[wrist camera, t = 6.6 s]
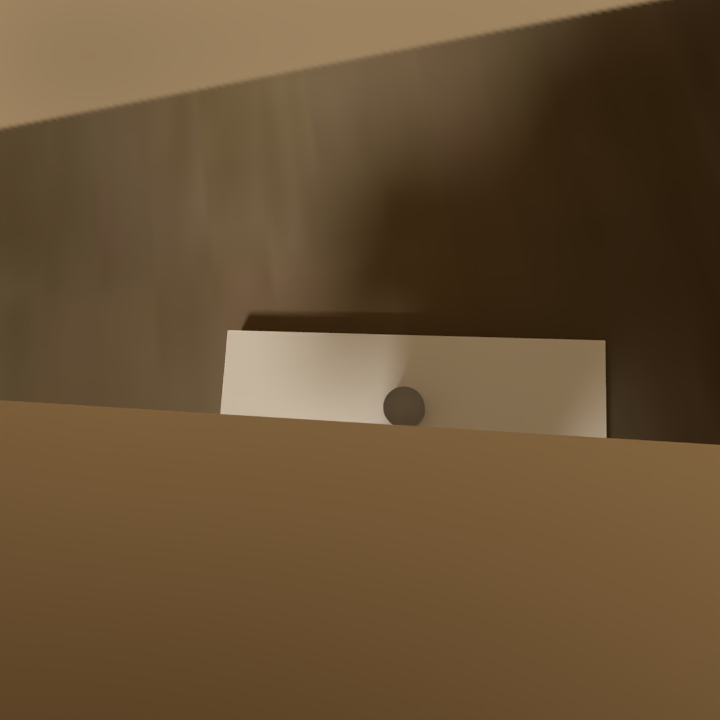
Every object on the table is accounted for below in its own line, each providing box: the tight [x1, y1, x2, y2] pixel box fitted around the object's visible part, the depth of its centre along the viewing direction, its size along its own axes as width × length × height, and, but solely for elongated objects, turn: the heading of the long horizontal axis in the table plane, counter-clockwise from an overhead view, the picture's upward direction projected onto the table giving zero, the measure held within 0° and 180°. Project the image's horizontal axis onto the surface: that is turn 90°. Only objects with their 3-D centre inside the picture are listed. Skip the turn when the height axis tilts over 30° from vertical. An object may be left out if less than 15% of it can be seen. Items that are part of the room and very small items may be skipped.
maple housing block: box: [0, 400, 720, 720], centre depth 9 cm, size 5×5×14 cm
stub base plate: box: [220, 330, 607, 438], centre depth 20 cm, size 14×14×3 cm
